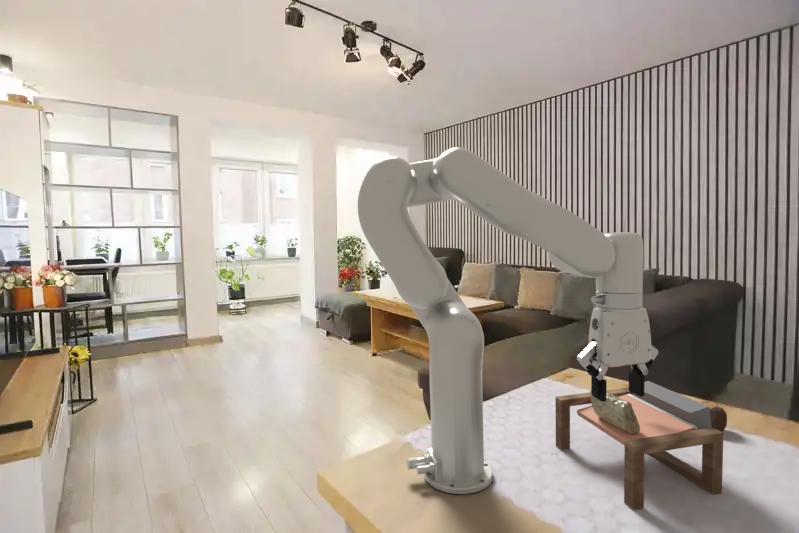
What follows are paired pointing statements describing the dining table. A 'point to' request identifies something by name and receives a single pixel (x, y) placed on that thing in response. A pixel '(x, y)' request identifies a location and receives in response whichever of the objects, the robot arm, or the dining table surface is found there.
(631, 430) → the cuneiform tablet
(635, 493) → the frame
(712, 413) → the bolt
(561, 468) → the dining table surface
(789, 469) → the dining table surface
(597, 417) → the trapdoor
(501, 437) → the dining table surface
